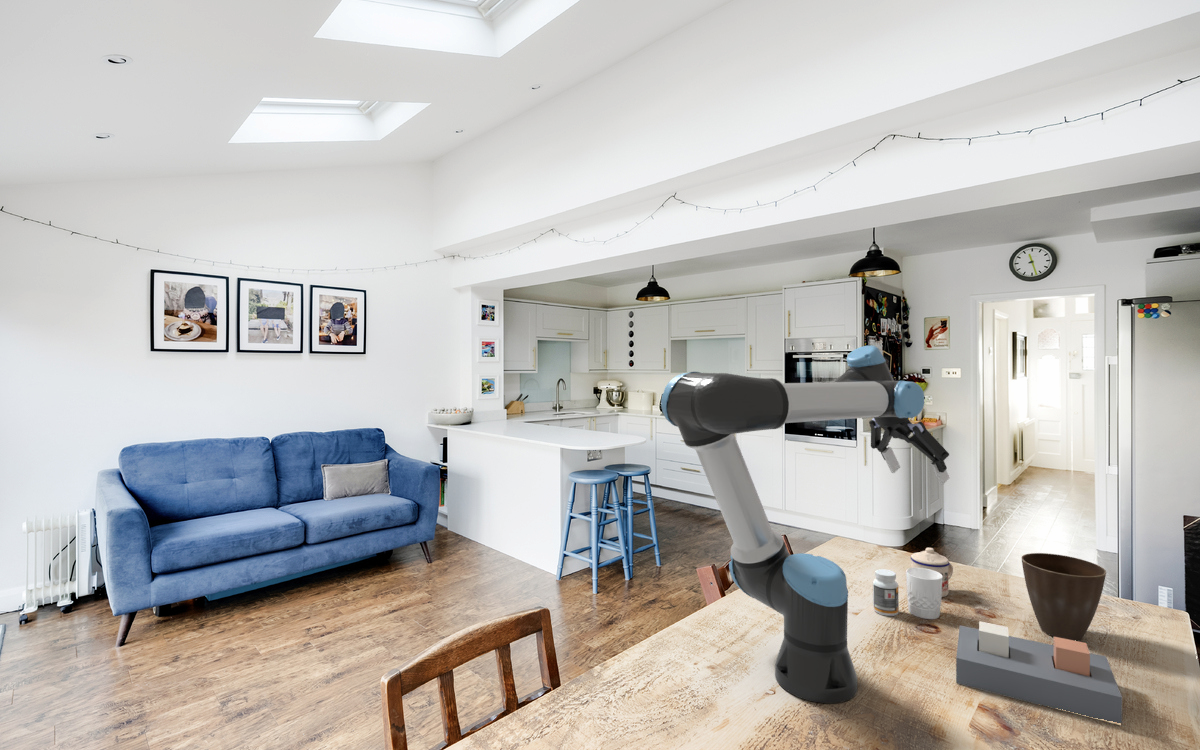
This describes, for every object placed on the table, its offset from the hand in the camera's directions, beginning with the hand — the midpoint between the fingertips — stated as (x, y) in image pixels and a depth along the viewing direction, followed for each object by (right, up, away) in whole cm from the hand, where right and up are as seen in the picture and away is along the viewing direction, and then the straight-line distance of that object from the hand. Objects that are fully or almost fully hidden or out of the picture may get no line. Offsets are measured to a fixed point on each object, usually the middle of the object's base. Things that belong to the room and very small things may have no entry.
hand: (919, 475), depth 142 cm
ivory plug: (-1, -31, -28) cm, 42 cm away
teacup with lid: (+11, -34, +13) cm, 37 cm away
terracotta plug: (+9, -32, -35) cm, 48 cm away
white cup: (+1, -34, -1) cm, 34 cm away
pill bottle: (-8, -34, 0) cm, 35 cm away
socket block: (+4, -35, -31) cm, 47 cm away
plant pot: (+26, -34, -12) cm, 44 cm away
